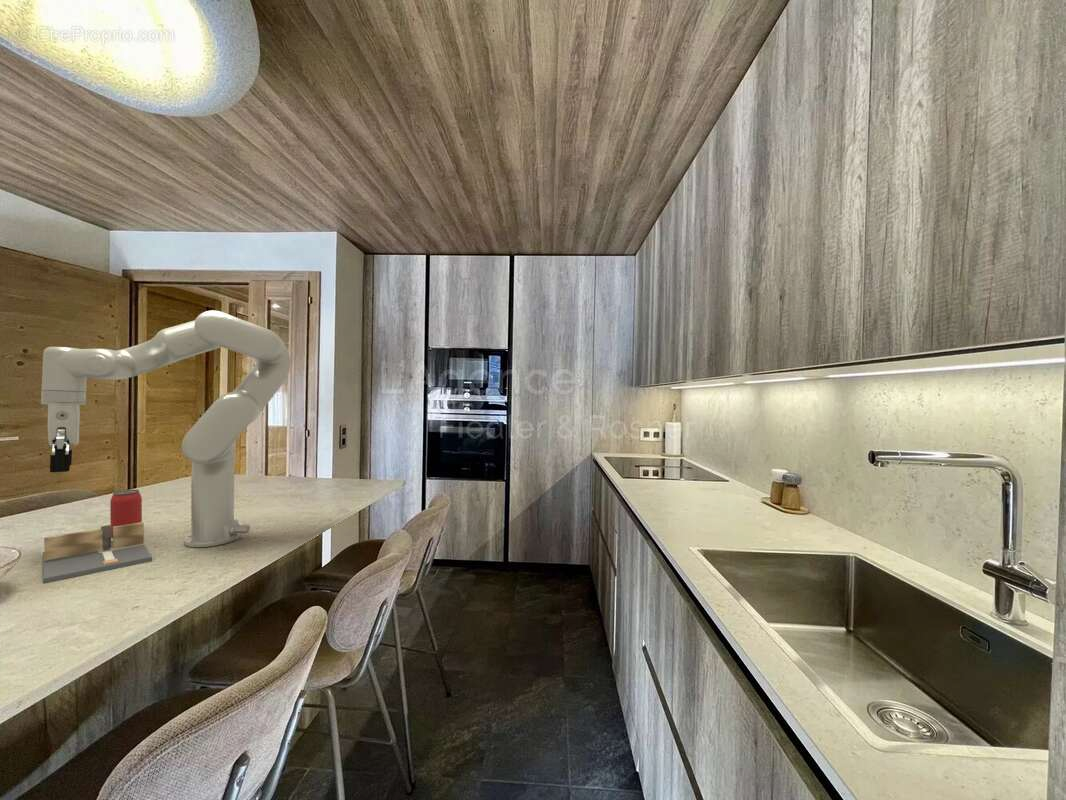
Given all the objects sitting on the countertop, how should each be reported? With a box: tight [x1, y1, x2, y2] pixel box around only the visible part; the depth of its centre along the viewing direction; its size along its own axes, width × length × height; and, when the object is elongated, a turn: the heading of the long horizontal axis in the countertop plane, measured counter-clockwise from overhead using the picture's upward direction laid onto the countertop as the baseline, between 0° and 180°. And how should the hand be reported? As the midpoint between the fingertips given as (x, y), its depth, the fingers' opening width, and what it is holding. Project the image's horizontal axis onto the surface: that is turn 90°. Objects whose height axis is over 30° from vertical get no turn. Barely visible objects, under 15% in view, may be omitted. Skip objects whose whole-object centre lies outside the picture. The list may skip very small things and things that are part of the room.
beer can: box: [109, 489, 143, 537], centre depth 127 cm, size 7×7×12 cm
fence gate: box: [43, 524, 112, 560], centre depth 108 cm, size 11×2×6 cm, turn 138°
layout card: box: [42, 539, 153, 584], centre depth 109 cm, size 18×22×1 cm
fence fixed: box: [112, 521, 145, 549], centre depth 114 cm, size 6×1×6 cm, turn 138°
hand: (60, 468), depth 110 cm, fingers open, 9 cm apart
